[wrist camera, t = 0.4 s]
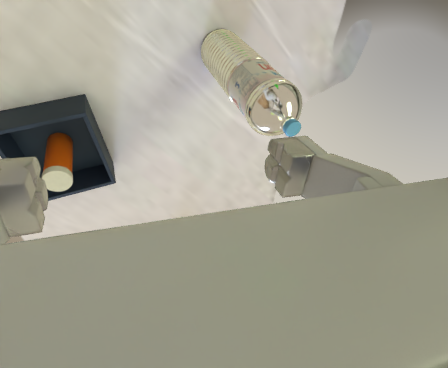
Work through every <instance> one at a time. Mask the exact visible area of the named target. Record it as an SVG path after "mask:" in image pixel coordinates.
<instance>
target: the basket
mask: <svg viewBox="0 0 448 368" xmlns="http://www.w3.org/2000/svg"><path fill="white" fill-rule="evenodd" d="M54 133H64V134H66V135H68V136H69V137H70V138H71V139H72V141H73V163H72V174H73V184H72V186H71V187H70V188H69V189H67V190H65V191H61V192H55V191H50V190H48V189H47V192H48V201H49V200H53V199H57V198H61V197H65V196H68V195H72V194H76V193H80V192H84V191H87V190H91V189H95V188H99V187H103V186H106V185H110V184H114V183H116V181H115V173H114V166H113V161H112V159H111V156H110V154H109V152H108V149H107V147H106V144H105V142H104V139H103V137H102V134H101V132H100V130H99V127H98V125H97V122H96V120H95V117H94V115H93V113H92V110H91V108H90V105H89V103H88V100H87V98H86V95H85V94H83V95H78V96H73V97H68V98H63V99H58V100H53V101H48V102H44V103H39V104H34V105H29V106H24V107H19V108H14V109H9V110H4V111H0V156H1V158H2V159H6V158H23V157H36V158H37V159H38V162H39V164H40V167H41V171H40V175H39V177H40V178H42V173H43V169H44V161H45V153H46V145H47V139H48V137H49V136H50V135H52V134H54Z"/></svg>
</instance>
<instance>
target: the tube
mask: <svg viewBox="0 0 448 368" xmlns="http://www.w3.org/2000/svg"><path fill="white" fill-rule="evenodd" d="M72 163H73V141H72V139H71V138H70V137H69V136H68V135H66V134H64V133H54V134H52V135H50V136H49V137H48V139H47V145H46V153H45V161H44V169H43V173H42V179H43V180H44V181H45V183H46V187H47V189H48V190H50V191H55V192H61V191H65V190H67V189H69V188H70V187H71V186H72V184H73V174H72Z"/></svg>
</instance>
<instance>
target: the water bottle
mask: <svg viewBox="0 0 448 368" xmlns="http://www.w3.org/2000/svg"><path fill="white" fill-rule="evenodd" d="M201 57H202V60H203V63H204V65H205V66H206V68H207V69H208V70H209V72H210V73H211V74H212V76H213V77H214V78H215V80H216V81H217V82H218V84H219V85H220V86H221V87H222V89H223V90H224V92H225V93H226V94H227V95H228V97H229V98H230V99H231V100H232V101H233V102H234V103H235V105H236V106H237V107H238V108H239V110H240V111H241V112H242V114H243V115H244V116H245V117H246V119H247V122H248V123H249V125H250V126H251V127H252V129H253V130H255V131H256V132H257V133H259V134H262V135H266V136H274V135H280V134H283V133H285V134H286V135H287V136H289V137H292V136H294V135H296V134H297V133H298V132H299V131H300V129H301V124H300V123H299V122H298V119H299V117H300V114H301V109H302V97H301V94H300V92H299V90H298V88H297V87H296V86H295V85H294V84H293V83H291V82H290V81H288V80H286V79H285V78H284V77H283V76H281V75H280V74H279V73H278V72H277V71H276V70H275V69H273V68H272V67H271V66H270V65H269V63H268V62H267V61H266V60H265V59H264V58H262V57H261V56H260V55H259V54H258V53H257V52H255V51H254V50H253V49H252V48H251V47H250V46H249V45H247V44H246V43H245V42H244V41H243V40H242V39H240V38H239V37H238V36H237V35H236V34H235V33H233V32H231V31H229V30H227V29H217V30H214V31H212V32H211V33H209V34H208V35H207V36H206V38H205V39H204V41H203V43H202V46H201Z"/></svg>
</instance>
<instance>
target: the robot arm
mask: <svg viewBox="0 0 448 368" xmlns="http://www.w3.org/2000/svg"><path fill="white" fill-rule="evenodd" d="M268 151H269V153H270V155H269V156H268V157H267V158H266V160H265V173H266V176H267V178H268V179H269V181H271V182H273V183H275V189H276V190H277V191H278V192H279V194H280V195H281V196H282V197H291V196H300V195H302V197H304V198H305V199H302V200H295V201H288V202H282V203H276V204H268V205H261V206H255V207H248V208H241V209H235V210H228V211H221V212H215V213H208V214H201V215H195V216H188V217H181V218H175V219H168V220H161V221H155V222H148V223H141V224H135V225H128V226H121V227H115V228H108V229H101V230H94V231H88V232H81V233H74V234H68V235H61V236H54V237H48V238H41V239H34V240H28V241H21V242H15V243H8V244H5V243H6V242H7V241H8V240H9V239H10V237H16V236H22V235H28V234H34V233H40V232H42V229H43V225H44V220H45V216H44V213H43V211H45V210H46V209H47V206H48V192H47V187H46V183H45V181H44V180H43V179H42V178H40V177H39V175H40V171H41V167H40V164H39V162H38V159H37V158H36V157H23V158H6V159H0V368H448V178H443V179H435V180H429V181H422V182H415V183H409V184H403V183H401V182H400V181H398V180H397V179H396V178H395V177H393V176H392V175H391V174H389V173H387V172H384V171H381V170H378V169H376V168H373V167H370V166H367V165H364V164H361V163H358V162H355V161H352V160H349V159H346V158H343V157H340V156H337V155H334V154H328V153H327V152H325V151H324V150H323V149H322V148H321V147H319V146H318V145H317V144H316V143H314V142H313V141H312V140H311V139H310V138H309V137H308V136H298V137H287V138H277V139H271V140H270V142H269V145H268Z"/></svg>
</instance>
